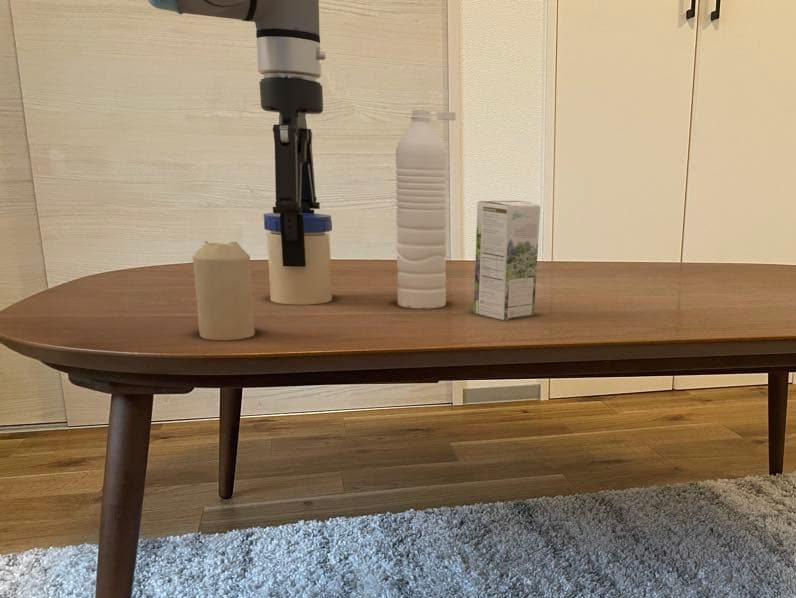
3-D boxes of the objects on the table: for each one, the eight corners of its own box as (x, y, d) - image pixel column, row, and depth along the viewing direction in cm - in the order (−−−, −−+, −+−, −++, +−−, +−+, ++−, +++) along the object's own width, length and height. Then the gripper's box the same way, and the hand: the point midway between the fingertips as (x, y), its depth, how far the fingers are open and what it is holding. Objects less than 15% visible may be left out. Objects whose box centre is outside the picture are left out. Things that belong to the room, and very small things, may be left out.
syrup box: (504, 310, 105) (507, 199, 101) (536, 317, 101) (541, 202, 97) (473, 314, 101) (475, 199, 96) (505, 322, 97) (508, 202, 93)
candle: (254, 330, 87) (247, 238, 84) (256, 340, 82) (249, 244, 79) (200, 331, 85) (192, 238, 82) (199, 342, 80) (190, 244, 77)
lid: (344, 231, 103) (344, 216, 103) (290, 233, 97) (289, 218, 96) (305, 226, 108) (305, 212, 107) (251, 228, 102) (250, 213, 101)
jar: (294, 308, 100) (290, 224, 97) (258, 299, 104) (253, 219, 101) (344, 301, 106) (342, 222, 103) (307, 293, 110) (304, 218, 107)
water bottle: (419, 311, 101) (418, 107, 94) (387, 304, 105) (384, 107, 98) (467, 305, 107) (470, 112, 100) (436, 298, 111) (436, 113, 104)
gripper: (308, 71, 87) (317, 273, 94) (332, 87, 107) (339, 253, 114) (238, 67, 86) (253, 272, 93) (276, 84, 106) (286, 251, 113)
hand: (300, 261), depth 104 cm, fingers closed on lid, 8 cm apart
